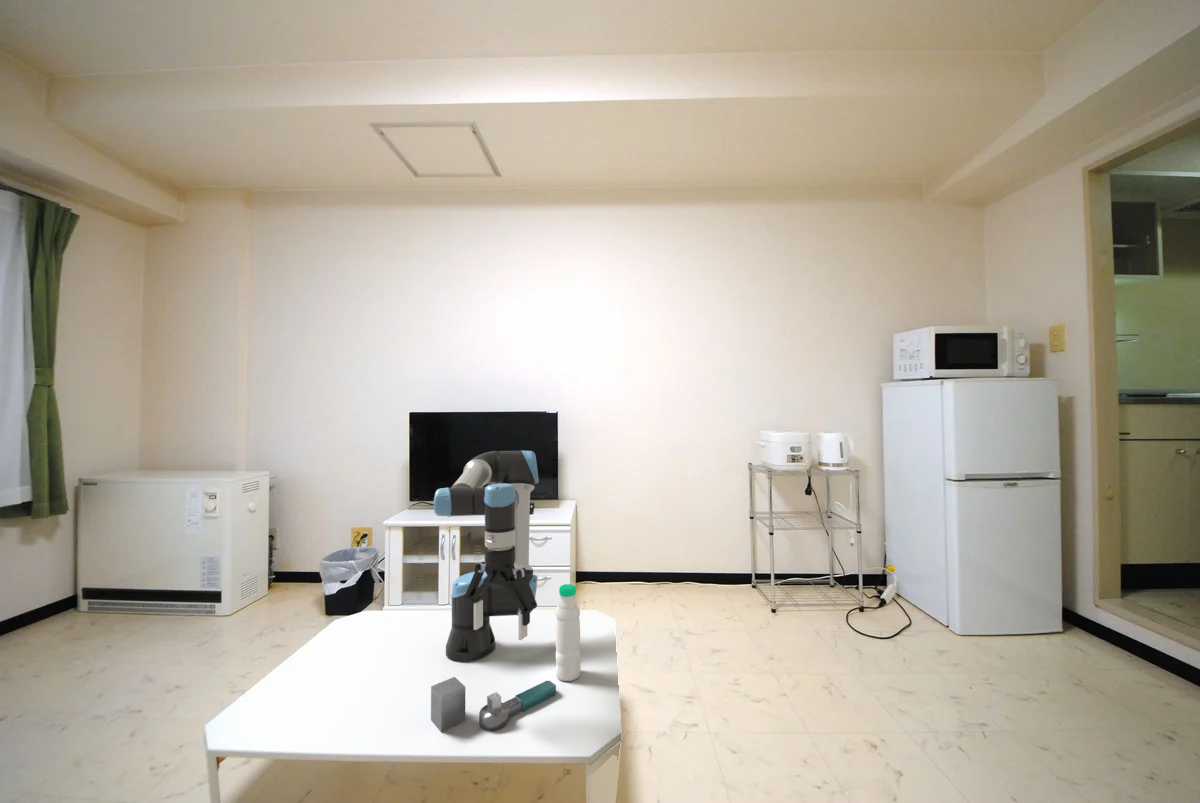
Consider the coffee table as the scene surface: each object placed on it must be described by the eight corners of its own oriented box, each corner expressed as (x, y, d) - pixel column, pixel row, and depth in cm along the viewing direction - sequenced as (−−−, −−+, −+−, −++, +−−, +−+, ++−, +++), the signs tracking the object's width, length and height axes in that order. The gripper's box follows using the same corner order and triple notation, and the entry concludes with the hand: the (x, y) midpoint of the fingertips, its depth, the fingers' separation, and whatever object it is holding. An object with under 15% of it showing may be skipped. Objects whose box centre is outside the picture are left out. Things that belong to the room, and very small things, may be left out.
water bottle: (577, 683, 125) (576, 591, 126) (552, 681, 126) (551, 589, 128) (583, 669, 132) (582, 582, 133) (559, 667, 133) (559, 581, 134)
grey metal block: (430, 720, 110) (431, 686, 111) (454, 709, 114) (454, 676, 115) (441, 732, 106) (441, 697, 106) (465, 720, 110) (465, 686, 110)
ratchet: (488, 735, 105) (488, 709, 105) (473, 721, 110) (474, 695, 110) (560, 697, 119) (560, 674, 119) (544, 686, 124) (544, 663, 124)
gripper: (450, 545, 116) (450, 629, 115) (534, 556, 106) (534, 649, 105) (470, 537, 123) (470, 617, 122) (550, 548, 112) (551, 635, 112)
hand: (500, 632), depth 113 cm, fingers open, 13 cm apart
